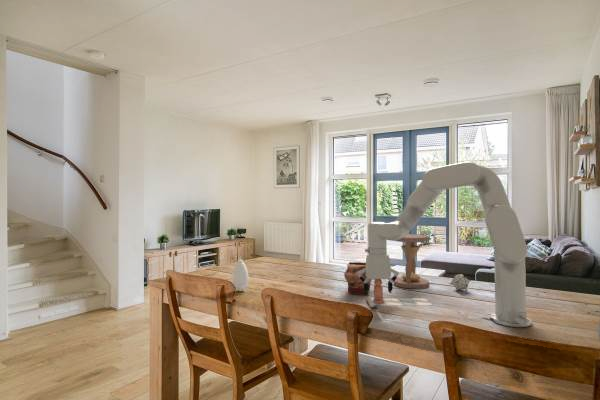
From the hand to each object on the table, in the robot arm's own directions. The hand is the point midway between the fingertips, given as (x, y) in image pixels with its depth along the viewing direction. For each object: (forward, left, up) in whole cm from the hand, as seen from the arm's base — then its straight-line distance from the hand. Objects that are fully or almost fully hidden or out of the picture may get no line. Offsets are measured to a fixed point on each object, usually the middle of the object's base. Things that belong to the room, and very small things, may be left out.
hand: (378, 292), depth 150 cm
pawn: (0, 0, -4) cm, 4 cm away
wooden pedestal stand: (+34, -23, -5) cm, 41 cm away
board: (0, -9, -5) cm, 10 cm away
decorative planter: (+21, +5, -5) cm, 22 cm away
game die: (+22, -43, -6) cm, 49 cm away
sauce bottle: (+24, +63, -5) cm, 68 cm away
